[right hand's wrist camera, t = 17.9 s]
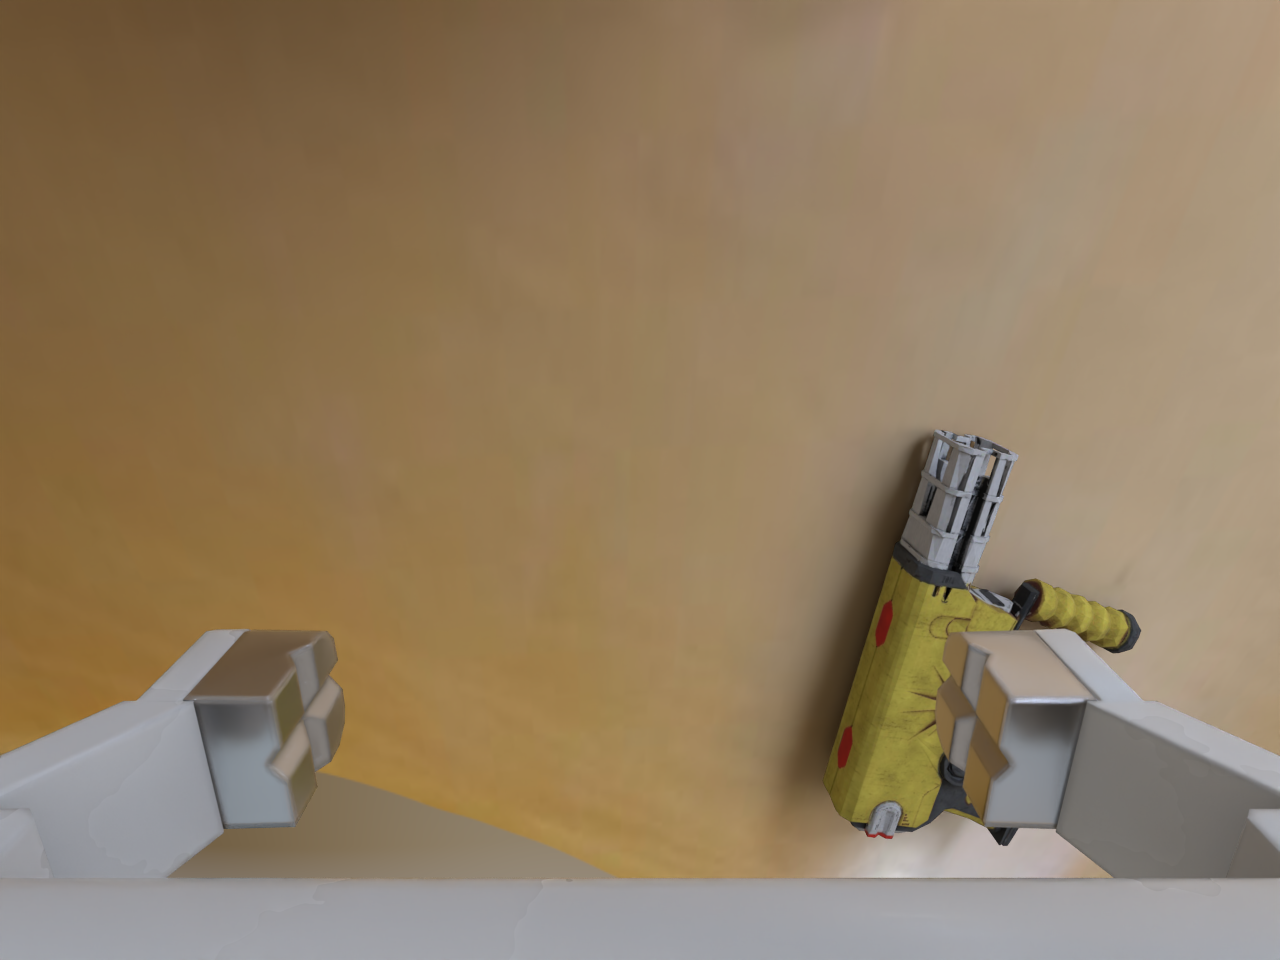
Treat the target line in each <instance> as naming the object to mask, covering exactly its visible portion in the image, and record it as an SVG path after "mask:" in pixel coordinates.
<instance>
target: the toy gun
mask: <svg viewBox="0 0 1280 960" xmlns="http://www.w3.org/2000/svg"><path fill="white" fill-rule="evenodd" d="M933 436H934V441H933V444H932V447H931V450H930V453H929V456H928V459H927V462H926V465H925V468H924V470H922V472H921V476H922V478H921V481H920V484H919V488H918V491H917V494H916V497H915V500H914V503H913V506H912V508H911V509H910V511H909V515H910V516H909V519H908V521H907V524H906V527H905V529H904V532H903V534H902V537H901V540H900V541H899V542H897V543H896V544H895V548H894V551H893V555H892V558H891V562H890V565H889V568H888V571H887V575H886V578H885V581H884V584H883V587H882V591H881V594H880V597H879V600H878V604H877V607H876V610H875V613H874V617H873V620H872V623H871V626H870V629H869V633H868V636H867V639H866V642H865V646H864V649H863V652H862V655H861V658H860V662H859V665H858V668H857V671H856V675H855V678H854V681H853V684H852V687H851V691H850V694H849V697H848V700H847V704H846V707H845V710H844V713H843V717H842V720H841V723H840V726H839V729H838V733H837V736H836V739H835V742H834V746H833V749H832V752H831V755H830V758H829V762H828V765H827V768H826V771H825V775H824V778H823V783H824V785H825V787H826V789H827V791H828V793H829V795H830V797H831V799H832V802H833V804H834V807H835V809H836V811H837V812H838V813H839V815H840V816H842V817H843V818H845V819H847V820H848V821H850V822H851V824H852V825H853V826H854V827H856V828H857V829H858V830H859V831H865V833H866V835H867V837H873V838H875V837H876V836H877V835H880V836H882V837H884V838H886V839H892V838H893V835H894V833H902V832H913V831H915V830H917V829H919V828H921V827H923V826H925V825H927V824H929V823H931V822H932V821H933V820H934V819H935V818H936V817H937V816H938V815H939V814H940V813H941V812H943V811H947V812H950V813H953V814H957V815H960V816H963V817H966V818H969V819H971V820H973V821H975V822H976V823H978V824H980V825H982V826H984V824H983V823H982V821H981V819H980V817H979V815H978V814H977V812H976V810H975V808H974V806H973V805H972V803H971V801H970V799H969V797H968V796H967V794H966V792H965V790H964V788H963V781H964V775H965V772H964V771H963V770H961V769H960V768H958V767H957V766H955V765H953V764H952V763H950V762H949V761H948V759H947V757H946V755H945V753H944V751H943V749H942V747H941V744H940V741H939V737H938V734H937V729H936V718H935V705H936V697H937V689H938V688H939V687H940V686H941V685H942V684H943V683H944V682H945V681H946V680H947V679H948V678H949V677H950V676H951V674H950V672H949V670H948V669H947V667H946V666H945V664H944V662H943V661H942V658H943V652H944V646H945V642H946V640H947V638H948V636H949V634H950V632H973V631H1013V630H1018V629H1019V627H1020V625H1021V624H1022V622H1023V620H1024V619H1026V620H1028V621H1031V622H1036V621H1039V623H1040V624H1041V625H1043V626H1045V627H1048V628H1050V629H1055V628H1056V629H1067V630H1070V631H1072V632H1075V633H1076V634H1077V635H1078V636H1079V637H1080V638H1081V639H1082V640H1084V641H1090V642H1091V643H1093V644H1095V645H1097V646H1099V647H1102V648H1104V649H1106V650H1108V651H1110V652H1112V653H1120V652H1124V651H1127V650H1130V649H1132V648H1133V646H1134V645H1135V643H1136V641H1137V640H1138V638H1139V635H1140V632H1141V629H1140V628H1139V626H1138V624H1137V622H1136V620H1135V618H1134V617H1133V615H1131V614H1129V613H1128V612H1126V611H1124V610H1116V609H1114V608H1111V607H1105V608H1104V607H1103V606H1101V605H1100V604H1098V603H1097V602H1095V601H1087V600H1086V599H1085V598H1084V597H1082V596H1079V595H1073V594H1070V593H1068V592H1067V591H1065V590H1063V589H1061V588H1059V587H1057V588H1053V587H1052V586H1051V585H1049V584H1047V583H1044V582H1042V581H1040V580H1038V579H1031V580H1025V581H1024V582H1023V583H1022V584H1021V586H1020V587H1019V588H1018V589H1017V591H1016V592H1015V594H1014V598H1013V600H1012V601H1011V600H1009V599H1007V598H1005V597H1002V596H1000V595H998V594H995V593H993V592H991V591H988V590H984V589H980V588H977V587H974V586H971V585H972V582H973V579H974V577H975V574H976V573H977V572H978V569H979V565H978V563H979V560H980V558H981V555H982V553H983V550H984V548H985V545H986V543H987V542H988V541H989V538H990V536H989V533H990V530H991V528H992V525H993V522H994V519H995V516H996V514H997V511H998V508H999V505H1000V502H1002V500H1003V497H1004V496H1003V495H1002V493H1003V490H1004V488H1005V485H1006V482H1007V480H1008V477H1009V475H1010V472H1011V470H1012V467H1013V464H1014V462H1015V461H1017V459H1018V455H1017V454H1016V453H1014V452H1012V451H1010V450H1008V449H1006V448H1004V447H1002V446H1000V445H998V444H996V443H994V442H992V441H990V440H988V439H985V438H982V437H978V436H973V435H966V434H965V435H964V437H963V436H958V435H956V434H954V433H952V432H949V431H942V430H935V432H934V435H933ZM952 439H953V440H955V441H960V442H962V443H958V442H955V441H953V440H952ZM971 441H974V442H975V445H974V448H972V447H970V442H971ZM950 446H951V447H953V450H952V453H951V456H950V459H949V461H947V460H946V456H947V453H948V450H949V447H950ZM993 448H994V449H996V450H997V451H995V450H992V449H993ZM998 451H999V452H998ZM990 455H993V456H995V457H996V460H995V463H994V466H993V469H992V472H991V475H990V477H989V476H984V474H985V471H986V468H987V465H988V462H989V459H990ZM984 827H985V826H984ZM986 828H987V829H988V830H989V831H990V833H991V834H992V836H993V837H994V839H995V840H996V841H997V843H998V844H999V845H1001V844H1002V845H1003V846H1007V845H1008V844H1009V843H1010V841H1011V840H1012V838H1013V836H1014V835H1015V833H1016V831H1017V830H1018V828H1007V827H986Z"/></svg>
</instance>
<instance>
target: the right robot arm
mask: <svg viewBox="0 0 1280 960" xmlns="http://www.w3.org/2000/svg"><path fill="white" fill-rule="evenodd" d="M337 661H338V658H337V653H336V648H335V643H334V638H333V637H332V636H331V635H330V634H329V633H328V632H327V631H301V630H249V629H220V630H211V631H206V632H205V633H204V634H203V635H202V636H201V637H200V638H199V639H198V640H197V641H196V642H195V643H194V644H193V645H192V646H191V647H190V648H189V649H188V650H187V651H186V652H185V653H184V654H183V655H182V656H181V657H180V658H179V659H178V660H177V661H176V662H175V663H174V664H173V665H172V666H171V667H170V668H169V669H168V670H167V671H166V672H165V673H164V674H163V675H162V676H161V677H160V678H159V679H158V680H157V681H156V682H155V683H154V684H153V685H152V686H151V687H150V688H149V689H148V690H147V691H146V692H145V693H144V694H143V695H142V696H141V697H140V698H139V699H138V700H137V701H123V702H120V703H118V704H116V705H114V706H111V707H109V708H107V709H105V710H102V711H100V712H98V713H96V714H93V715H91V716H89V717H87V718H84V719H82V720H80V721H78V722H75V723H73V724H71V725H69V726H66V727H64V728H62V729H60V730H57V731H55V732H53V733H51V734H48V735H46V736H44V737H41V738H39V739H37V740H35V741H32V742H30V743H28V744H26V745H23V746H21V747H19V748H17V749H14V750H12V751H10V752H8V753H5V754H3V755H1V756H0V960H1280V756H1279V755H1276V754H1274V753H1272V752H1270V751H1268V750H1265V749H1263V748H1261V747H1259V746H1256V745H1254V744H1252V743H1250V742H1247V741H1245V740H1243V739H1241V738H1238V737H1236V736H1234V735H1232V734H1229V733H1227V732H1225V731H1223V730H1220V729H1218V728H1216V727H1214V726H1211V725H1209V724H1207V723H1205V722H1202V721H1200V720H1198V719H1196V718H1193V717H1191V716H1189V715H1187V714H1184V713H1182V712H1180V711H1178V710H1175V709H1173V708H1171V707H1169V706H1166V705H1164V704H1162V703H1160V702H1157V701H1143V700H1142V699H1141V698H1140V697H1139V696H1138V695H1137V694H1136V693H1135V692H1134V691H1133V690H1132V689H1131V688H1130V687H1129V686H1128V685H1127V684H1126V683H1125V682H1124V681H1123V680H1122V679H1121V678H1120V677H1119V676H1118V675H1117V674H1116V673H1115V672H1114V671H1113V670H1112V669H1111V668H1110V667H1109V666H1108V665H1107V664H1106V663H1105V662H1104V661H1103V660H1102V659H1101V658H1100V657H1099V656H1098V655H1097V654H1096V653H1095V652H1094V651H1093V650H1092V649H1091V648H1090V647H1089V646H1088V645H1087V644H1086V643H1085V642H1084V641H1083V640H1082V639H1081V638H1080V637H1079V636H1078V635H1077V634H1076V633H1075V632H1072V631H1070V630H1067V629H1044V630H1013V631H973V632H950V634H949V636H948V638H947V640H946V642H945V646H944V652H943V658H942V661H943V662H944V664H945V666H946V667H947V669H948V670H949V672H950V674H951V676H950V677H949V678H948V679H947V680H946V681H945V682H944V683H943V684H942V685H941V686H940V687H939V688H938V689H937V697H936V705H935V718H936V729H937V734H938V737H939V741H940V744H941V747H942V749H943V751H944V753H945V755H946V757H947V759H948V761H949V762H950V763H952V764H953V765H955V766H957V767H958V768H960V769H961V770H963V771H964V772H965V775H964V781H963V788H964V790H965V792H966V794H967V796H968V797H969V799H970V801H971V803H972V805H973V806H974V808H975V810H976V812H977V814H978V815H979V817H980V819H981V821H982V823H983V824H984V826H985V827H1007V828H1043V829H1056V833H1058V834H1059V835H1060V836H1061V837H1063V838H1064V839H1065V840H1067V841H1068V842H1069V843H1070V844H1072V845H1073V846H1074V847H1075V848H1077V849H1078V850H1079V851H1081V852H1082V853H1083V854H1084V855H1086V856H1087V857H1088V858H1089V859H1091V860H1092V861H1093V862H1095V863H1096V864H1097V865H1098V866H1100V867H1101V868H1102V869H1103V870H1105V871H1106V872H1107V873H1109V874H1110V875H1111V876H1112V877H1114V878H167V877H168V876H169V875H170V874H172V873H173V872H174V871H175V870H177V869H178V868H179V867H181V866H182V865H183V864H184V863H186V862H187V861H188V860H190V859H191V858H192V857H193V856H195V855H196V854H197V853H198V852H200V851H201V850H202V849H204V848H205V847H206V846H207V845H209V844H210V843H211V842H212V841H214V840H215V839H216V838H218V837H219V836H220V835H221V834H223V833H224V829H235V828H271V827H295V826H296V825H297V823H298V821H299V819H300V817H301V816H302V814H303V812H304V810H305V808H306V807H307V805H308V803H309V801H310V799H311V797H312V796H313V794H314V792H315V790H316V788H317V781H316V775H315V772H316V771H317V770H319V769H320V768H322V767H323V766H325V765H327V764H328V763H330V762H331V761H332V759H333V757H334V755H335V753H336V751H337V749H338V747H339V745H340V741H341V736H342V732H343V728H344V724H345V703H344V696H343V689H342V688H341V687H340V686H339V685H338V684H337V683H336V682H335V681H334V680H333V679H332V678H331V677H330V676H329V674H330V672H331V670H332V669H333V667H334V666H335V664H336V662H337Z"/></svg>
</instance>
